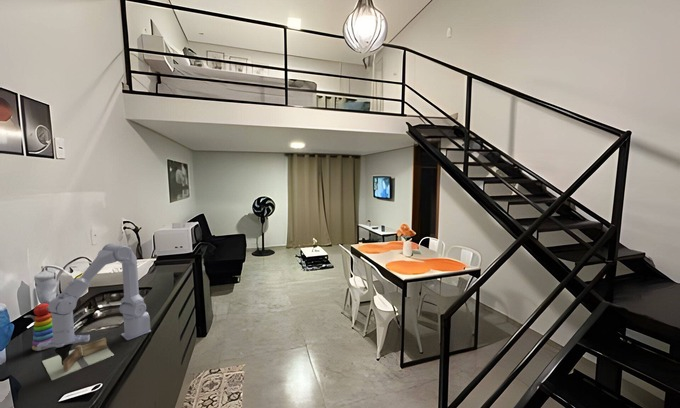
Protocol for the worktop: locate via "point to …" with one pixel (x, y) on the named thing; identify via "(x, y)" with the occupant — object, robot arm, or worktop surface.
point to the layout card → (57, 370)
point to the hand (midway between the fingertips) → (65, 363)
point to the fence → (91, 347)
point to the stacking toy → (42, 325)
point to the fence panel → (70, 360)
